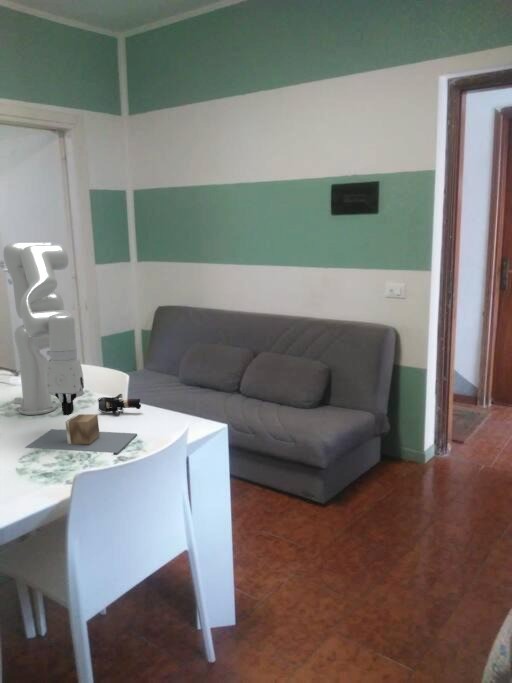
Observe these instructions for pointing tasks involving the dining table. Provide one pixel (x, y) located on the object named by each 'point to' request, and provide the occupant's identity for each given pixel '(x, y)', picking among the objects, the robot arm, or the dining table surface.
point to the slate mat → (103, 443)
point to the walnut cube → (82, 429)
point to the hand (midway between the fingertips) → (68, 413)
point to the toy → (117, 404)
